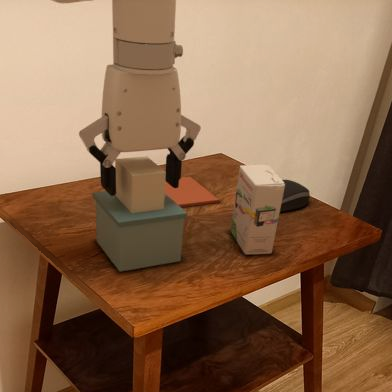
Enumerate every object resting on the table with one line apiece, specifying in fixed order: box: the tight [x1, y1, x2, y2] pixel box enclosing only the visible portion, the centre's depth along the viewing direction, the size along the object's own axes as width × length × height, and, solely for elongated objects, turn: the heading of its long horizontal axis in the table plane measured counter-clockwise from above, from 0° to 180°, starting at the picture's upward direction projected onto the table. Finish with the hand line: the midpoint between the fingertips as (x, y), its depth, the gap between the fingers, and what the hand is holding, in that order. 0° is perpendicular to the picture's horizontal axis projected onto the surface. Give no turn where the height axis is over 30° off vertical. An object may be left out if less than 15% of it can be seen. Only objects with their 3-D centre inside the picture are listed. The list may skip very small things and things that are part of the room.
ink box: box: [229, 163, 285, 256], centre depth 86 cm, size 8×5×12 cm, turn 14°
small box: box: [114, 156, 166, 213], centre depth 77 cm, size 5×6×6 cm
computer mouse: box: [280, 179, 311, 213], centre depth 103 cm, size 7×12×4 cm, turn 129°
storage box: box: [92, 190, 188, 273], centre depth 81 cm, size 11×11×8 cm
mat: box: [165, 176, 220, 208], centre depth 103 cm, size 12×12×1 cm
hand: (141, 188), depth 78 cm, fingers open, 9 cm apart
